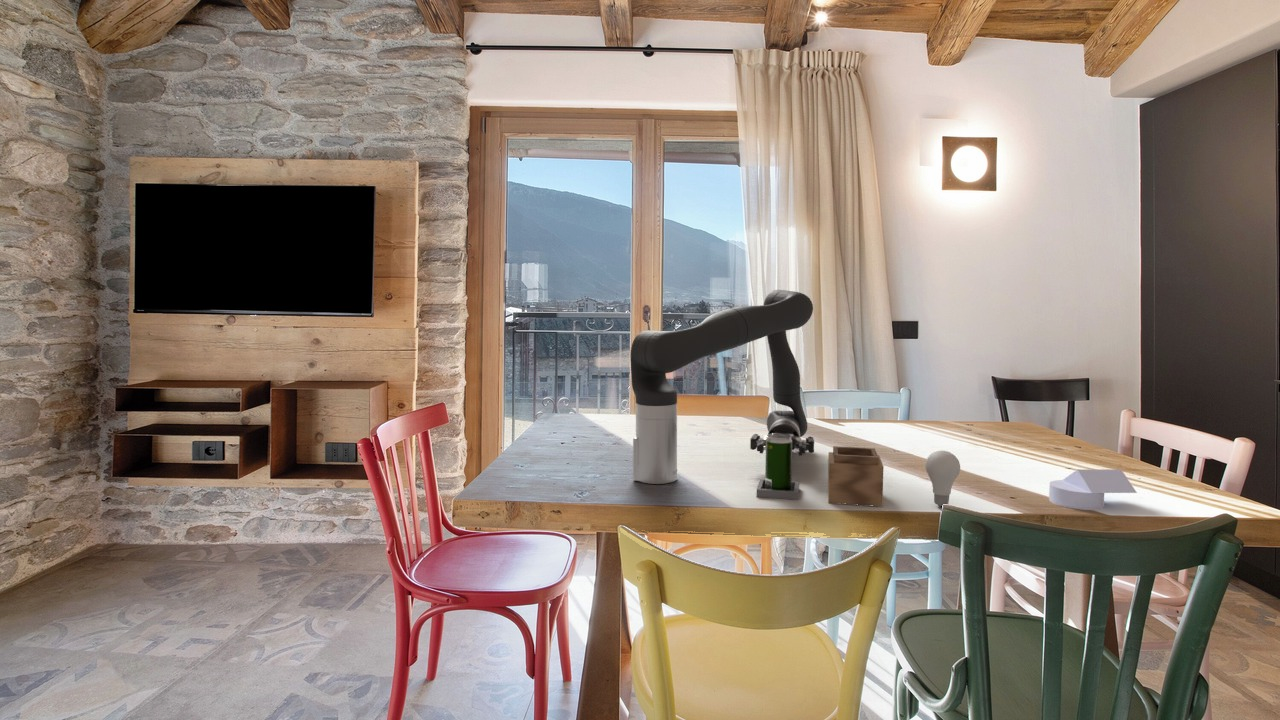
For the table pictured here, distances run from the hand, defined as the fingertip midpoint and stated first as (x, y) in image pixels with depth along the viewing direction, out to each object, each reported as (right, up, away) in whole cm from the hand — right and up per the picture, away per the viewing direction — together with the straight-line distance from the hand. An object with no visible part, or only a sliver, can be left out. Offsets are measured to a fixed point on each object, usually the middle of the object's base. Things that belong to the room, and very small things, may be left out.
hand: (780, 450), depth 146 cm
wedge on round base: (+57, -9, -16) cm, 59 cm away
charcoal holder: (-2, -8, -8) cm, 11 cm away
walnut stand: (+12, -8, -12) cm, 19 cm away
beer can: (-2, -8, -8) cm, 12 cm away
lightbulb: (+27, -9, -18) cm, 34 cm away
